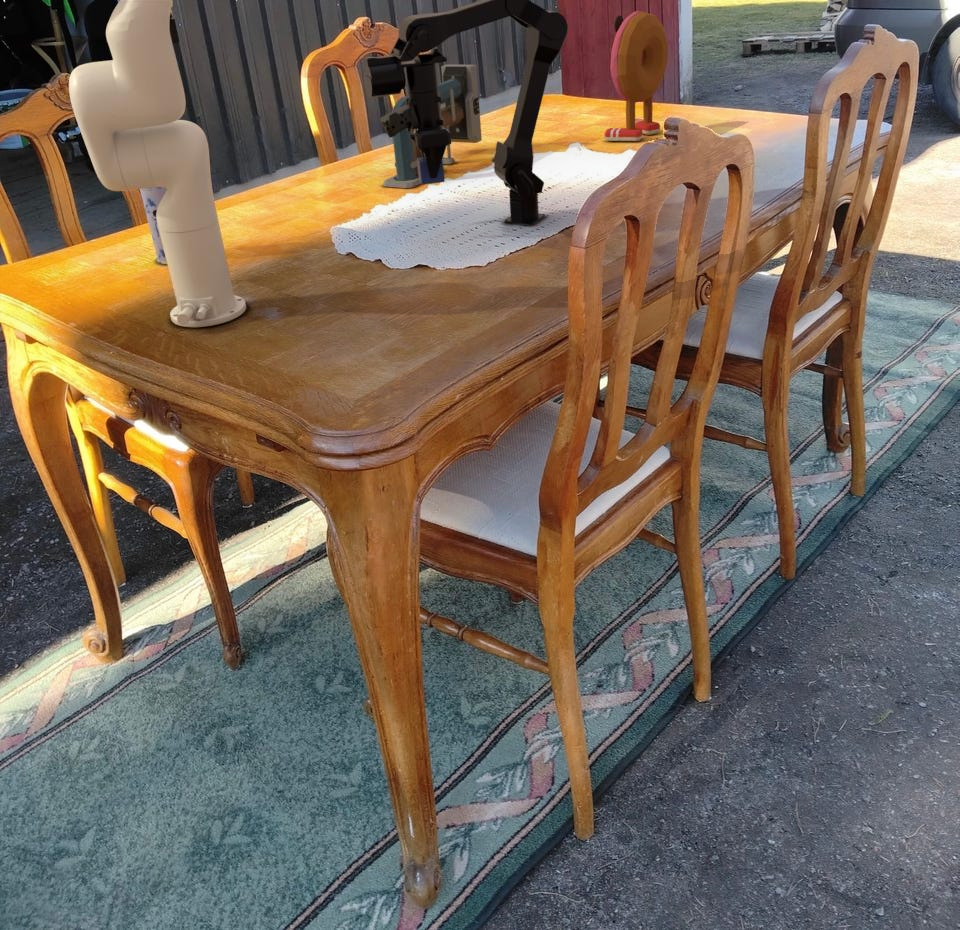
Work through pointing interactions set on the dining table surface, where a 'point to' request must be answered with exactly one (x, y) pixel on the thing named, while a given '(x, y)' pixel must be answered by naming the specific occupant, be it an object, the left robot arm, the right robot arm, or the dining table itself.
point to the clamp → (457, 119)
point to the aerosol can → (154, 217)
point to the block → (424, 172)
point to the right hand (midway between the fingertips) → (431, 175)
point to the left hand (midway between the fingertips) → (167, 46)
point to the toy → (637, 71)
